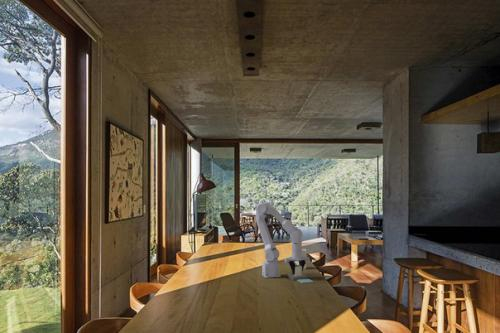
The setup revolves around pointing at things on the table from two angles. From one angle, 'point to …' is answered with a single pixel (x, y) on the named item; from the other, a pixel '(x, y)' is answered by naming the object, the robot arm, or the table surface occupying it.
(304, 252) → the mug
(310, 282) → the mat
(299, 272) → the plug
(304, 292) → the table surface
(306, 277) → the grey square frame
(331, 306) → the table surface
